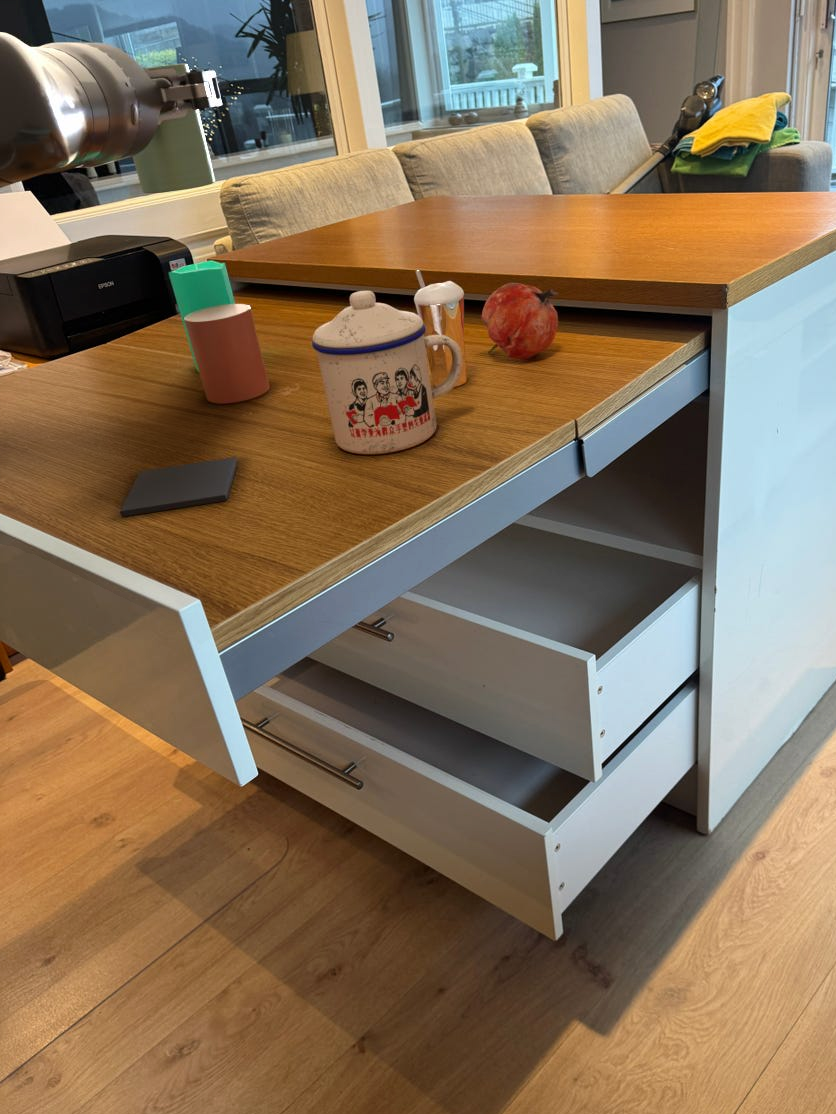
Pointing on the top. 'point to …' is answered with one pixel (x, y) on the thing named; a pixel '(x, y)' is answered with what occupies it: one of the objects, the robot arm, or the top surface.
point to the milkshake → (442, 325)
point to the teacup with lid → (380, 376)
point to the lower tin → (227, 353)
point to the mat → (180, 486)
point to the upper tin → (175, 152)
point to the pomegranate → (520, 320)
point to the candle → (200, 289)
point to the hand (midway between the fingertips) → (164, 94)
